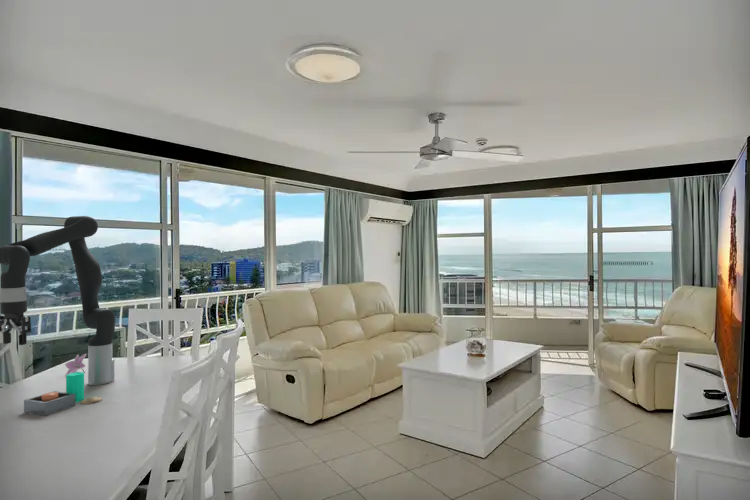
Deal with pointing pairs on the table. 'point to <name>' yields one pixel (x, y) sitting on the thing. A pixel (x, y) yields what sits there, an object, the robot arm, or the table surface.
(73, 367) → the lily
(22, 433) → the table surface
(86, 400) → the coaster
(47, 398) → the orange egg shape
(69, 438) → the table surface
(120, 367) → the table surface
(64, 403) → the gray open box
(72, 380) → the candle
